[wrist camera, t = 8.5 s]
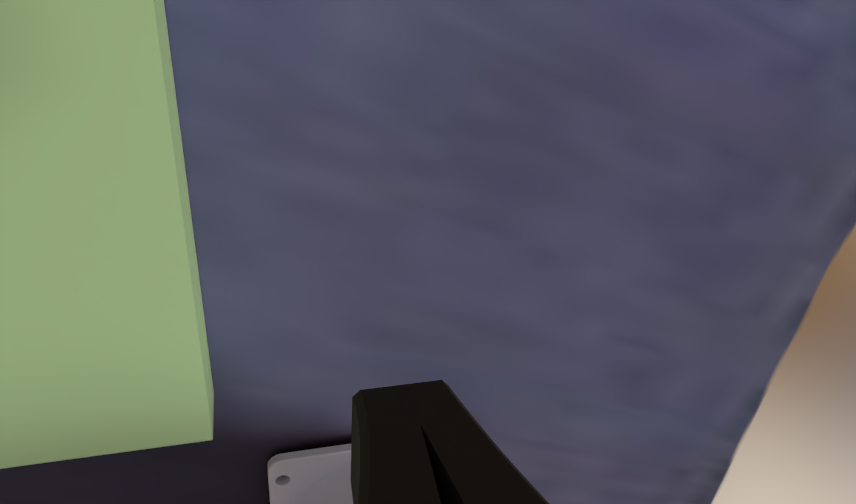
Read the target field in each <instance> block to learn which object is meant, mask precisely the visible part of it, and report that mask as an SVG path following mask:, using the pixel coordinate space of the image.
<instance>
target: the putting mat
mask: <svg viewBox="0 0 856 504" xmlns="http://www.w3.org/2000/svg"><path fill="white" fill-rule="evenodd" d="M213 409H214V391H213V383H212V375H211V367H210V359H209V351H208V344H207V336H206V328H205V320H204V312H203V304H202V297H201V289H200V281H199V273H198V265H197V257H196V250H195V242H194V234H193V226H192V218H191V210H190V203H189V195H188V187H187V179H186V171H185V163H184V156H183V148H182V140H181V132H180V124H179V116H178V109H177V101H176V93H175V85H174V77H173V69H172V62H171V54H170V46H169V38H168V30H167V22H166V15H165V7H164V0H0V469H3V468H10V467H17V466H25V465H32V464H39V463H47V462H54V461H61V460H69V459H76V458H84V457H91V456H98V455H106V454H113V453H120V452H128V451H135V450H142V449H150V448H157V447H164V446H172V445H179V444H187V443H194V442H201V441H209V440H213Z"/></svg>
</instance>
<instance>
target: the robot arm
mask: <svg viewBox="0 0 856 504" xmlns="http://www.w3.org/2000/svg"><path fill="white" fill-rule="evenodd" d="M267 469H268V483H269V496H270V504H549V503H548V502H547V501H546V500H545V499H544V498H543V497H542V496H541V494H540V493H539V492H538V491H537V490H536V489H535V488H534V487H533V486H532V485H531V484H530V482H529V481H528V480H527V479H526V478H525V477H524V476H523V475H522V474H521V473H520V472H519V470H518V469H517V468H516V467H515V466H514V465H513V464H512V463H511V462H510V460H509V459H508V458H507V457H506V456H505V455H504V454H503V452H502V451H501V450H500V449H499V448H498V447H497V445H496V444H495V443H494V442H493V441H492V439H491V438H490V437H489V436H488V435H487V433H486V432H485V431H484V430H483V429H482V427H481V426H480V425H479V424H478V423H477V421H476V420H475V419H474V418H473V416H472V415H471V414H470V413H469V411H468V410H467V409H466V408H465V406H464V405H463V404H462V403H461V401H460V400H459V399H458V398H457V396H456V395H455V394H454V392H453V391H452V390H451V389H450V387H449V386H448V385H447V384H446V383H445V382H443V381H442V380H438V381H430V382H422V383H414V384H406V385H398V386H390V387H382V388H374V389H365V390H360V391H359V392H358V393H357V394H355V395H354V396H353V397H352V439H351V443H350V444H343V445H336V446H329V447H323V448H316V449H309V450H302V451H295V452H288V453H281V454H277V455H275V456H273V457H272V458H271V459H270V460H269V461H268V464H267ZM282 475H286V476H283V477H280V476H282Z"/></svg>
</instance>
